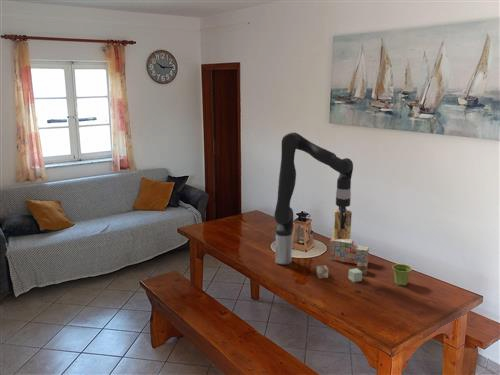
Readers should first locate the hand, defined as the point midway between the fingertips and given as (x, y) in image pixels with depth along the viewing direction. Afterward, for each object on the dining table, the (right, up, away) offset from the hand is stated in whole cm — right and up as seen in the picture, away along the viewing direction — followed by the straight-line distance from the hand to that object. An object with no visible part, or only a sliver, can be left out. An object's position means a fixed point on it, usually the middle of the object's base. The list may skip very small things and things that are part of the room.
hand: (341, 227), depth 237 cm
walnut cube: (+12, -25, +6) cm, 29 cm away
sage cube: (+7, -28, -2) cm, 28 cm away
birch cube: (-10, -27, +2) cm, 29 cm away
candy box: (0, -6, +2) cm, 7 cm away
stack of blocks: (+9, -22, +22) cm, 32 cm away
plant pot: (+29, -29, -7) cm, 42 cm away
